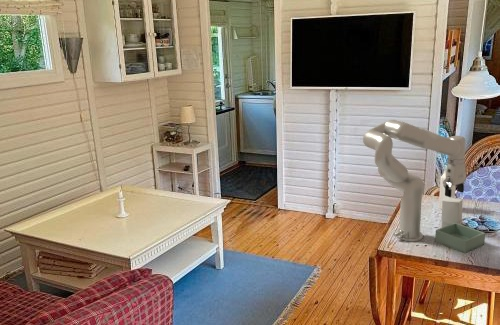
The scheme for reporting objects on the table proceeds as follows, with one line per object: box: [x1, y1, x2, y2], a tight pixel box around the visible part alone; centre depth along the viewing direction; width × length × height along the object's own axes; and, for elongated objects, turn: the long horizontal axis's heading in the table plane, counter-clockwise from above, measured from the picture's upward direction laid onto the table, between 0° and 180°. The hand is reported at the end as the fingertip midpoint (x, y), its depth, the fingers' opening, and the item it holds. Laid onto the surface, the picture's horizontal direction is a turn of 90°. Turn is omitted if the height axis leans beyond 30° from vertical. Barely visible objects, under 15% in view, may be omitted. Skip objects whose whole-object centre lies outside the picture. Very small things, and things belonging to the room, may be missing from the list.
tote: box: [434, 223, 486, 254], centre depth 211 cm, size 15×16×6 cm
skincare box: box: [441, 197, 464, 228], centre depth 226 cm, size 8×7×16 cm
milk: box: [438, 170, 457, 211], centre depth 250 cm, size 6×6×22 cm
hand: (454, 194), depth 223 cm, fingers open, 9 cm apart
